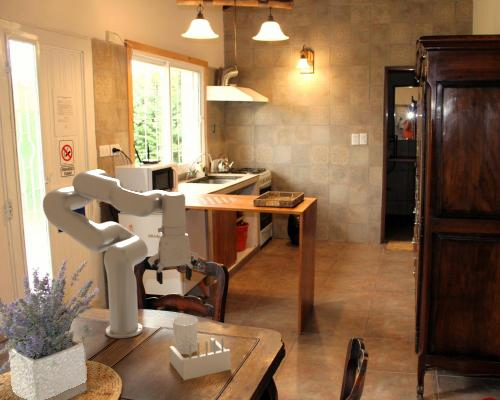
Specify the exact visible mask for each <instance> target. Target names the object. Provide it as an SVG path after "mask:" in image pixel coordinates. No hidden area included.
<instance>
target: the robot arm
mask: <svg viewBox="0 0 500 400" xmlns="http://www.w3.org/2000/svg"><path fill="white" fill-rule="evenodd" d="M94 200H97V201H99V202H104V203H107V204H109V205H111V206H112V207H114V208H115V210H117V211H119V212H121V213H124V214H128V215H130V216H131V215H132V216H135V217H138V218H139V217H141V218H143V217H144V218H145V217H149V216H152V215H154V214H159V213H161V227H158V229H157V232H158V233H161V234H160V236H159V241H158V247H157V253H155V254H154V255H152V256H150V257H149V258H148V259H147V256H148V252H149V250H148V246H147V244H146V242H145V241H144V240H143V239H142V238H141V237H140V236H138V235H136V234H135V233H134V232H133V231H131V230H129V229H128V228H127V227H125V226H124V225H122V224H120V223H118V222H115V221H111V220H110V221H105V222H100V223H98V222H97V223H96V222H95V221H93V220H91V219H90V218H88V217H87V216H86V215H84V214H81V213H78V212H76V211H75V210H77V209H82V208H84V207H86V206H87V205H89V204H90V203H92V202H94ZM42 209H43V213H44V215H45V218H46V219H47V220H48V222H49V223H50V224H51V225H53V226H54V227H55V228H56V229H58V230H60V231H62V232H63V233H65V234H66V235H68V236H69V237H70V238H72V239H73V240H75V241H76V242H77V243H78V244H80V245H82V246H83V247H84V248H86V249H87V250H89V251H90V252H92V253H95V254H99V253H103V252H104V256H103V262H104V263H103V264H104V267H105V271H106V277H107V290H108V311H109V312H108V313H109V325H108V326H107V327H106V328H105V334H106V336H108V337H110V338H112V339H127V338H132V337H135V336H138V335H140V334H141V333H142V332H143V331H144V329H143V327H144V325H142V324H141V323H139V313H138V311H139V309H138V288H137V277H136V275H135V272H134V270H133V267H134V266H137V265H139V264H140V263H142V262H143V261H144V260H145V259H147V262H148V264H149V265H150V267H151V268H152V269H153V270H154V271H155V272H156V274H155V275H156V276H155V277H156V281H157V283H159V284H160V285H163V284H164V283H163V281H164V280H163V279H164V278H163V276H164V275H163V272H162V271H163V269H164V268H166V267H167V268H168V267H169V268H170V267H178V266H186V267H185V279H186V280H188V281H189V282H190V281H191V278H192V277H193V268H194V266H195V265H196V264H197V262H198V260H199V258H200V253H197V252H195V251H193V250H191V244H190V238H189V234H188V233H186V196H185V194H184V193H182V192H177V191H172V192H171V191H170V192H169V191H165V190H160V189H154V190H149V191H144V192H142V193H141V192H135V191H131V190H129V189H125V188H124V184H123V182H122V181H121V180H120V179H117V178H114V177H113V178H112V177H110V175H109V173H107V172H106V171H105V170H102V169H93V170H92V169H91V170H86V171H80V172H79V173H77V174H76V175H75V176H74V177H73V179H72V184H71V185H69V186H64V187H58V188H55V189H53V190H50V191H49V192H47V193H46V194H45V196H44V198H43V200H42ZM192 256H193V257H192ZM156 260H157V262H158V263H157V264H155V261H156Z"/></svg>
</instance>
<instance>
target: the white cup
mask: <svg viewBox="0 0 500 400" xmlns="http://www.w3.org/2000/svg"><path fill="white" fill-rule="evenodd" d="M198 321H199V320H198V318H197V317H195V316H191V315H183V316H182V315H181V316H178V317H175V318H173V320H172V327H173V328H172V329H173V330H172V331H173V341H174V347H175V348H176V349H177V351H178V352H179V353H180V354H181V355H189V344H191V355H192V354H194V353H196V351H197V343H198V330H199V329H198V323H199V322H198Z"/></svg>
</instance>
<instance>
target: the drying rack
mask: <svg viewBox="0 0 500 400" xmlns="http://www.w3.org/2000/svg"><path fill="white" fill-rule="evenodd" d="M220 342H221V343H220ZM220 342H219V341H217V339H216V338H215V337H211V338H209V343H208V340H205V353H204V354H200V342H197V350H196V351H197V355H194V356H192V354H191V344H189V354H188V356H187V357H184V356H182V355H183V354H180V353H179V352H178V351H177V349H176V348H175V345H171V346H169V362H170V364H171V366H172V367H173V368H174V369H175V370H176V372H177V373H178V374H179V375H180V377H181V378H182V380H184V381H186V380H192V379H196V378H200V377H204V376H209V375H213V374H217V373H222V372H226V371H230V370H232V369H231V350H230V349H229V348H227V349H226V347H224V346H225V345H224V337H221V341H220ZM208 344H209V349H210V350H209V351H210V352H208Z"/></svg>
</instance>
